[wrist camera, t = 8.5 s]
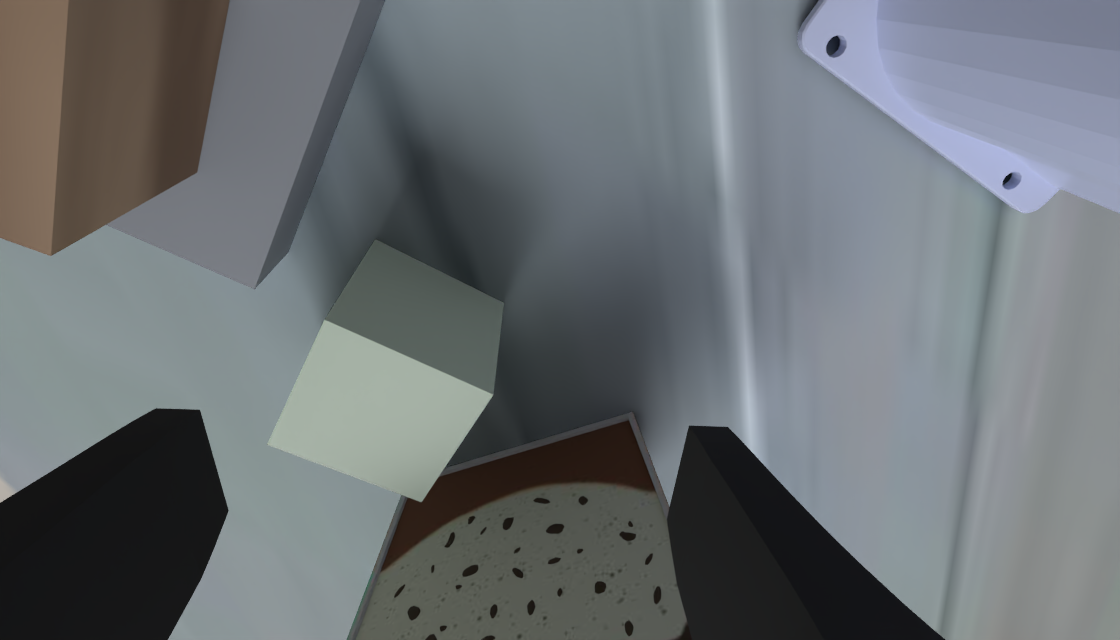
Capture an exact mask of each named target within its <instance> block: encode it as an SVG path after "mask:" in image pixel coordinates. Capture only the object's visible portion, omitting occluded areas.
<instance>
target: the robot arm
mask: <svg viewBox="0 0 1120 640" xmlns="http://www.w3.org/2000/svg"><path fill="white" fill-rule="evenodd" d="M833 36H838V37H839V39H840V46H839V48H838V50H837V51H836V52H835V53H834V54H833V55H830V56H828V54H827V53H826V46H827V43H828V41H829V40H830V39H831V38H832V37H833ZM797 41H798V45H799V48H800V49H801V50H802V51H803V52H804V53H805V54H806V55H808V56H809V57H810V58H812V59H813V60H814V61H816V62H817V63H818V64H820V65H821V66H822V67H824V68H825V69H826V70H828V71H829V72H830V73H832V74H833V75H834V76H836V77H837V78H838V79H840V80H841V81H842V82H844V83H845V84H846V85H848V86H849V87H851V88H852V89H853V90H855V91H856V92H857V93H859V94H860V95H861V96H863V97H864V98H865V99H867V100H868V101H869V102H871V103H872V104H873V105H875V106H876V107H877V108H879V109H880V110H881V111H883V112H884V113H885V114H887V115H888V116H889V117H891V118H892V119H893V120H895V121H896V122H897V123H899V124H900V125H901V126H903V127H904V128H906V129H907V130H908V131H910V132H911V133H912V134H914V135H915V136H916V137H918V138H919V139H920V140H922V141H923V142H924V143H926V144H927V145H928V146H930V147H931V148H932V149H934V150H935V151H936V152H938V153H939V154H940V155H942V156H943V157H944V158H946V159H947V160H948V161H950V162H951V163H952V164H954V165H955V166H957V167H958V168H959V169H961V170H962V171H963V172H965V173H966V174H967V175H969V176H970V177H971V178H973V179H974V180H975V181H977V182H978V183H979V184H981V185H982V186H983V187H985V188H986V189H987V190H989V191H990V192H991V193H993V194H994V195H995V196H997V197H998V198H999V199H1001V200H1002V201H1003V202H1005V203H1006V204H1008V205H1009V206H1010V207H1012V208H1014V209H1016V210H1018V211H1020V212H1022V213H1030V212H1033V211H1036V210H1038V209H1039V208H1040V207H1042V206H1043V205H1044V204H1045V203H1046V202H1047V201H1048V200H1049V199H1050V198H1051V197H1052V196H1053V195H1054V194H1055V193H1056V192H1057V191H1059V190H1060V189H1062V190H1064V191H1067V192H1069V193H1072V194H1074V195H1076V196H1079V197H1081V198H1084V199H1086V200H1088V201H1091V202H1093V203H1096V204H1098V205H1101V206H1103V207H1105V208H1108V209H1110V210H1113V211H1115V212H1117V213H1120V0H819V1H818V2H817V4H816V5H815V6H814V8H813V9H812V11H811V12H810V13H809V15H808V16H807V18H806V19H805V20H804V22H803V23H802V25H801V27H800V29H799V31H798V38H797ZM1010 173H1012V177H1011V179H1010V180H1009V181H1008V182H1007V183H1006V184H1004V185H1002V184H1003V180H1004V178H1005V177H1006V176H1007V175H1008V174H1010ZM227 513H228V507H227V504H226V500H225V497H224V493H223V489H222V486H221V482H220V479H219V475H218V472H217V468H216V465H215V461H214V458H213V454H212V451H211V447H210V444H209V440H208V437H207V433H206V430H205V426H204V423H203V419H202V416H201V412H200V410H188V409H157V408H156V409H154V410H152V411H150V412H149V413H147V414H145V415H143V416H141V417H139V418H138V419H136V420H134V421H133V422H131V423H129V424H127V425H126V426H124V427H122V428H121V429H119V430H117V431H116V432H114V433H112V434H111V435H109V436H108V437H106V438H104V439H103V440H101V441H99V442H98V443H96V444H95V445H93V446H91V447H90V448H88V449H87V450H85V451H83V452H82V453H80V454H79V455H77V456H75V457H74V458H72V459H70V460H69V461H67V462H66V463H64V464H62V465H61V466H59V467H58V468H56V469H54V470H53V471H51V472H50V473H48V474H46V475H45V476H43V477H41V478H40V479H38V480H37V481H35V482H33V483H32V484H30V485H28V486H27V487H25V488H24V489H22V490H20V491H19V492H17V493H15V494H14V495H12V496H11V497H9V498H7V499H6V500H4V501H3V502H1V503H0V640H168V638H169V636H170V635H171V633H172V631H173V629H174V627H175V626H176V624H177V622H178V620H179V618H180V617H181V615H182V613H183V611H184V609H185V607H186V606H187V604H188V602H189V600H190V598H191V597H192V595H193V593H194V591H195V589H196V587H197V585H198V583H199V582H200V580H201V578H202V576H203V573H204V571H205V568H206V566H207V564H208V561H209V559H210V557H211V554H212V552H213V550H214V547H215V545H216V542H217V539H218V537H219V534H220V532H221V529H222V526H223V524H224V521H225V519H226V516H227ZM667 525H668V531H669V538H670V545H671V552H672V558H673V564H674V570H675V576H676V581H677V586H678V590H679V593H680V597H681V601H682V605H683V608H684V612H685V615H686V619H687V623H688V626H689V630H690V634H691V637H692V640H945V639H944V638H943V637H941V636H940V635H939V634H938V633H937V632H935V631H934V630H933V629H932V628H931V627H930V626H928V625H927V624H926V623H925V622H924V621H923V620H921V619H920V618H919V617H918V616H917V615H916V614H915V613H913V612H912V611H911V610H910V609H909V608H908V607H907V606H906V605H904V604H903V603H902V602H901V601H900V600H899V599H898V598H897V597H896V596H895V595H894V594H892V593H891V592H890V591H889V590H888V589H887V588H886V587H885V586H884V585H883V584H882V583H881V582H879V581H878V580H877V579H876V578H875V577H874V576H873V575H872V574H871V573H870V572H869V571H868V570H866V569H865V568H864V567H863V566H862V565H861V564H860V563H859V562H858V561H857V560H856V559H855V558H854V557H853V556H852V555H851V554H850V553H849V552H848V551H847V550H846V549H845V548H844V547H842V546H841V545H840V544H839V543H838V542H837V541H836V540H835V539H834V538H833V537H832V536H831V535H830V534H829V533H828V532H827V531H826V530H825V529H824V528H823V527H822V526H821V525H820V524H819V523H818V522H817V521H816V520H815V519H814V517H813V516H812V515H811V514H810V513H809V512H808V511H807V510H806V509H805V508H804V507H803V506H802V505H801V504H800V503H799V502H798V501H797V500H796V499H795V498H794V497H793V496H792V495H791V494H790V493H789V492H788V490H787V489H786V488H785V487H784V486H783V485H782V484H781V483H780V482H779V481H778V480H777V479H776V478H775V477H774V476H773V475H772V473H771V472H770V471H769V470H768V469H767V468H766V467H765V466H764V465H763V464H762V463H761V462H760V461H759V459H758V458H757V457H756V456H755V455H754V454H753V453H752V452H751V451H750V450H749V449H748V448H747V447H746V445H745V444H744V443H743V442H742V441H741V440H740V439H739V438H738V437H737V436H736V435H735V434H734V433H733V432H732V431H731V430H730V429H729V428H728V427H712V426H689V428H688V432H687V436H686V441H685V445H684V449H683V453H682V457H681V462H680V466H679V470H678V474H677V479H676V483H675V487H674V491H673V495H672V500H671V504H670V508H669V512H668V516H667Z"/></svg>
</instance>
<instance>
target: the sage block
mask: <svg viewBox="0 0 1120 640" xmlns="http://www.w3.org/2000/svg"><path fill="white" fill-rule="evenodd" d="M503 307H504V303H503V302H501V301H499V300H497V299H495V298H493V297H491V296H489V295H487V294H485V293H483V292H481V291H479V290H477V289H475V288H473V287H471V286H469V285H467V284H465V283H463V282H461V281H459V280H457V279H455V278H453V277H451V276H449V275H447V274H445V273H443V272H441V271H439V270H437V269H434V268H432V267H430V266H428V265H426V264H424V263H422V262H420V261H418V260H416V259H414V258H412V257H410V256H408V255H406V254H404V253H402V252H400V251H398V250H396V249H394V248H392V247H390V246H388V245H386V244H384V243H382V242H380V241H378V240H376V239H375V240H374V242H373V244H372V245H371V247H370V248H369V250H368V251H367V253H366V255H365V256H364V258H363V259H362V261H361V263H360V264H359V266H358V267H357V269H356V271H355V272H354V274H353V275H352V277H351V278H350V280H349V282H348V283H347V285H346V286H345V288H344V290H343V291H342V293H341V294H340V296H339V297H338V299H337V301H336V302H335V304H334V305H333V307H332V309H331V310H330V312H329V313H328V315H327V317H326V318H325V320H324V322H323V324H322V326H321V328H320V331H319V333H318V335H317V337H316V339H315V341H314V344H313V346H312V348H311V350H310V352H309V355H308V357H307V359H306V361H305V363H304V365H303V368H302V370H301V372H300V374H299V376H298V378H297V381H296V383H295V385H294V387H293V389H292V391H291V394H290V396H289V398H288V400H287V402H286V405H285V407H284V409H283V411H282V413H281V415H280V418H279V420H278V422H277V424H276V426H275V428H274V431H273V433H272V435H271V437H270V439H269V441H268V444H267V445H269V446H272V447H274V448H277V449H280V450H282V451H285V452H288V453H291V454H293V455H296V456H299V457H301V458H304V459H307V460H309V461H312V462H315V463H317V464H320V465H323V466H325V467H328V468H331V469H333V470H336V471H339V472H341V473H344V474H347V475H349V476H352V477H355V478H358V479H360V480H363V481H366V482H368V483H371V484H374V485H376V486H379V487H382V488H384V489H387V490H390V491H392V492H395V493H398V494H400V495H403V496H406V497H408V498H411V499H414V500H417V501H419V502H422V501H423V499H424V498H425V496H426V495H427V493H428V492H429V490H430V489H431V487H432V486H433V484H434V483H435V481H436V480H437V478H438V477H439V475H440V474H441V472H442V471H443V469H444V468H445V466H446V465H447V463H448V462H449V460H450V459H451V457H452V456H453V454H454V453H455V451H456V450H457V448H458V447H459V445H460V444H461V442H462V441H463V439H464V438H465V437H466V435H467V434H468V432H469V431H470V429H471V428H472V426H473V425H474V423H475V422H476V420H477V419H478V417H479V416H480V414H481V413H482V411H483V410H484V408H485V407H486V405H487V404H488V402H489V401H490V399H491V398H492V396H493V394H494V386H495V377H496V368H497V360H498V351H499V342H500V333H501V325H502V316H503Z"/></svg>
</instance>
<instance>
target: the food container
mask: <svg viewBox="0 0 1120 640" xmlns="http://www.w3.org/2000/svg"><path fill="white" fill-rule="evenodd" d="M668 512H669V505H668V502H667V500H666V497H665V494H664V492H663V489H662V487H661V484H660V481H659V479H658V476H657V474H656V471H655V468H654V466H653V463H652V460H651V458H650V455H649V453H648V450H647V447H646V445H645V442H644V440H643V437H642V434H641V432H640V429H639V426H638V424H637V421H636V419H635V416H634V413H633V412H630V413H626V414H623V415H620V416H617V417H613V418H610V419H607V420H603V421H600V422H597V423H593V424H590V425H587V426H583V427H580V428H577V429H573V430H570V431H567V432H563V433H560V434H557V435H553V436H550V437H547V438H543V439H540V440H537V441H533V442H530V443H527V444H523V445H520V446H517V447H513V448H510V449H507V450H503V451H500V452H497V453H493V454H490V455H487V456H483V457H480V458H477V459H473V460H470V461H467V462H463V463H460V464H457V465H453V466H450V467H447V468H444V469H443V471H442V472H441V474H440V475H439V477H438V478H437V480H436V481H435V483H434V484H433V486H432V487H431V489H430V490H429V492H428V493H427V495H426V496H425V498H424V499H423V501H422V502H419V501H417V500H414V499H411V498H408V497H406V496H403V495H401V498H400V500H399V503H398V505H397V508H396V511H395V513H394V516H393V519H392V521H391V524H390V527H389V529H388V532H387V535H386V537H385V540H384V542H383V545H382V548H381V550H380V553H379V556H378V558H377V561H376V564H375V566H374V569H373V572H372V574H371V577H370V579H369V582H368V585H367V587H366V590H365V593H364V595H363V598H362V601H361V603H360V606H359V608H358V611H357V614H356V616H355V619H354V622H353V624H352V627H351V630H350V632H349V635H348V638H347V640H692V637H691V634H690V630H689V626H688V623H687V619H686V615H685V612H684V608H683V605H682V601H681V597H680V593H679V590H678V586H677V581H676V576H675V570H674V564H673V558H672V552H671V545H670V538H669V531H668V525H667V516H668Z"/></svg>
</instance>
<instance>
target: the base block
mask: <svg viewBox="0 0 1120 640" xmlns="http://www.w3.org/2000/svg"><path fill="white" fill-rule="evenodd" d="M384 2H385V0H230V1H229V7H228V12H227V17H226V22H225V28H224V33H223V38H222V44H221V49H220V54H219V60H218V65H217V70H216V76H215V81H214V86H213V91H212V97H211V102H210V107H209V113H208V118H207V123H206V129H205V134H204V139H203V145H202V150H201V155H200V161H199V166H198V171H197V173H196V174H194V175H192V176H190V177H189V178H187V179H185V180H183V181H182V182H180V183H178V184H176V185H175V186H173V187H171V188H169V189H168V190H166V191H164V192H162V193H160V194H159V195H157V196H155V197H153V198H152V199H150V200H148V201H146V202H145V203H143V204H141V205H139V206H138V207H136V208H134V209H132V210H131V211H129V212H127V213H125V214H124V215H122V216H120V217H118V218H117V219H115V220H113V221H111V222H110V223H108V224H106V225H108V226H110V227H112V228H115V229H117V230H119V231H122V232H124V233H126V234H129V235H131V236H133V237H135V238H138V239H140V240H142V241H145V242H147V243H149V244H152V245H154V246H156V247H158V248H161V249H163V250H165V251H168V252H170V253H172V254H175V255H177V256H179V257H182V258H184V259H186V260H188V261H191V262H193V263H195V264H198V265H200V266H202V267H205V268H207V269H209V270H211V271H214V272H216V273H218V274H221V275H223V276H225V277H228V278H230V279H232V280H234V281H237V282H239V283H241V284H244V285H246V286H248V287H251V288H253V289H255V288H256V287H257V286H258V285H259V284H260V283H261V282H262V280H263V279H264V278H265V277H266V276H267V275H268V274H269V273H270V272H271V271H272V269H273V268H274V267H275V266H276V265H277V264H278V263H279V262H280V261H281V260H282V259H283V257H284V256H285V255H286V254H287V253H288V252H289V249H290V246H291V244H292V241H293V239H294V236H295V233H296V231H297V228H298V226H299V223H300V220H301V218H302V215H303V213H304V210H305V207H306V205H307V202H308V200H309V197H310V194H311V192H312V189H313V187H314V184H315V181H316V179H317V176H318V174H319V171H320V168H321V166H322V163H323V161H324V158H325V155H326V153H327V150H328V148H329V145H330V142H331V140H332V137H333V135H334V132H335V129H336V127H337V124H338V122H339V119H340V116H341V114H342V111H343V109H344V106H345V103H346V101H347V98H348V96H349V93H350V90H351V88H352V85H353V83H354V80H355V77H356V75H357V72H358V70H359V67H360V64H361V62H362V59H363V57H364V54H365V51H366V49H367V46H368V44H369V41H370V38H371V36H372V33H373V31H374V28H375V25H376V23H377V20H378V18H379V15H380V12H381V10H382V7H383V5H384Z"/></svg>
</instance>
